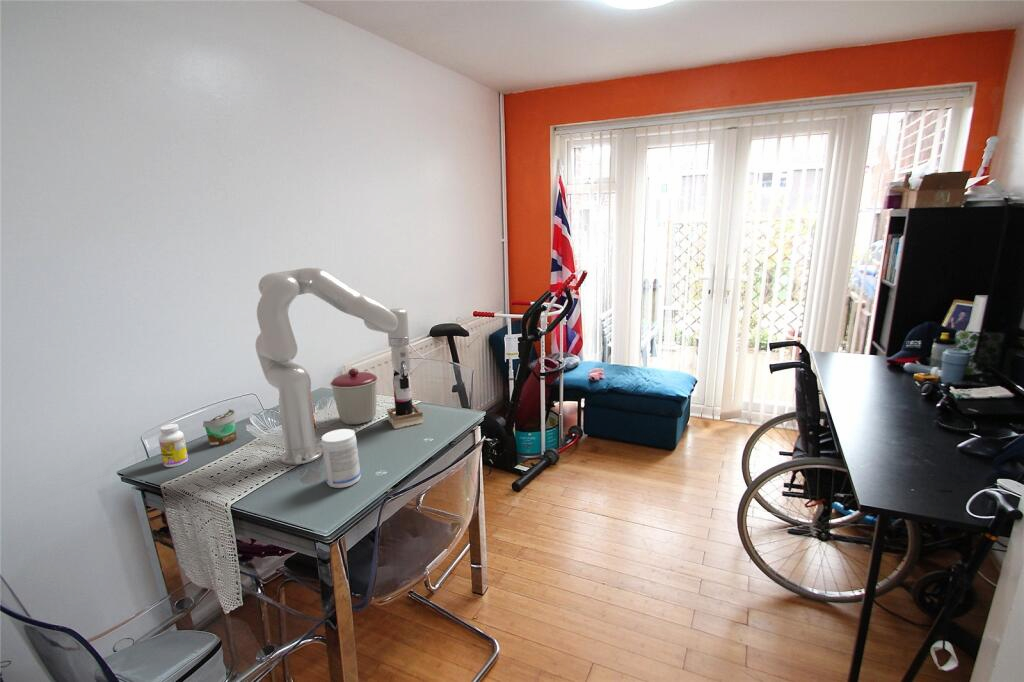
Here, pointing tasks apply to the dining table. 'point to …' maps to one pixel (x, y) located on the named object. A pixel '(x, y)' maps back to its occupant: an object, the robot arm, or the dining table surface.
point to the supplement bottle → (172, 446)
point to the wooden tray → (405, 418)
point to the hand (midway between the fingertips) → (401, 385)
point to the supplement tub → (341, 458)
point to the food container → (221, 429)
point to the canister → (355, 396)
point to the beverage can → (402, 397)
